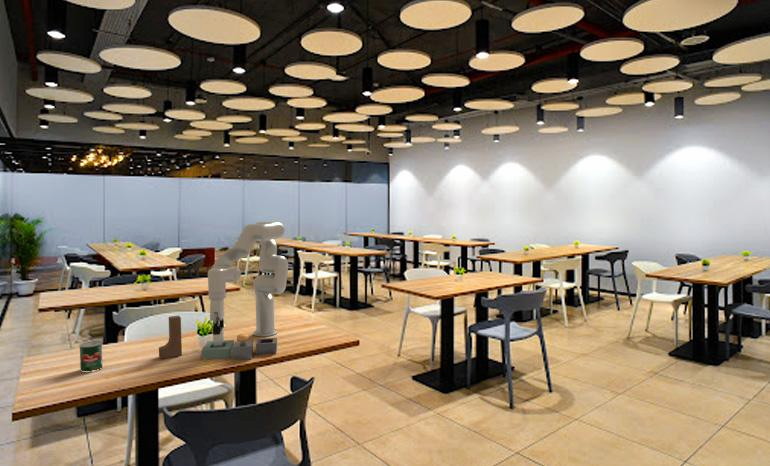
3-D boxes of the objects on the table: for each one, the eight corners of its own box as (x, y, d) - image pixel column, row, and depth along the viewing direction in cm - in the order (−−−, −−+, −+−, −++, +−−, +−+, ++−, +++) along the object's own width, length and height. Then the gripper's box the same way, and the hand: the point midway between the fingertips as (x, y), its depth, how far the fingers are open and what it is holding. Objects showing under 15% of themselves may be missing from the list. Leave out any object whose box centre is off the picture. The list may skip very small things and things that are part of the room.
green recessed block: (208, 349, 219) (207, 341, 219) (234, 348, 221) (233, 339, 221) (201, 359, 206) (201, 350, 205) (229, 357, 208) (229, 348, 207)
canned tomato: (86, 374, 188) (85, 347, 187) (76, 370, 192) (75, 344, 191) (106, 368, 194) (105, 343, 194) (96, 364, 198) (95, 340, 198)
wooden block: (160, 359, 205) (159, 319, 204) (158, 356, 209) (157, 317, 208) (182, 355, 211) (180, 317, 209) (180, 353, 214) (178, 315, 213)
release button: (238, 353, 211) (237, 334, 210) (249, 352, 212) (249, 333, 211) (236, 357, 206) (236, 337, 205) (248, 356, 207) (247, 336, 206)
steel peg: (215, 352, 215) (214, 327, 214) (223, 351, 216) (223, 326, 215) (213, 355, 211) (212, 329, 210) (222, 354, 212) (222, 329, 211)
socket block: (257, 348, 220) (257, 338, 220) (277, 347, 222) (276, 337, 221) (256, 355, 211) (255, 344, 211) (276, 353, 213) (275, 343, 212)
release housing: (235, 354, 212) (235, 341, 212) (253, 353, 213) (253, 340, 213) (232, 360, 204) (232, 347, 204) (251, 359, 206) (251, 346, 205)
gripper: (212, 291, 220) (213, 326, 221) (204, 299, 203) (206, 337, 204) (228, 291, 221) (229, 325, 222) (222, 298, 204) (223, 336, 205)
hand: (218, 331), depth 213 cm, fingers open, 9 cm apart
